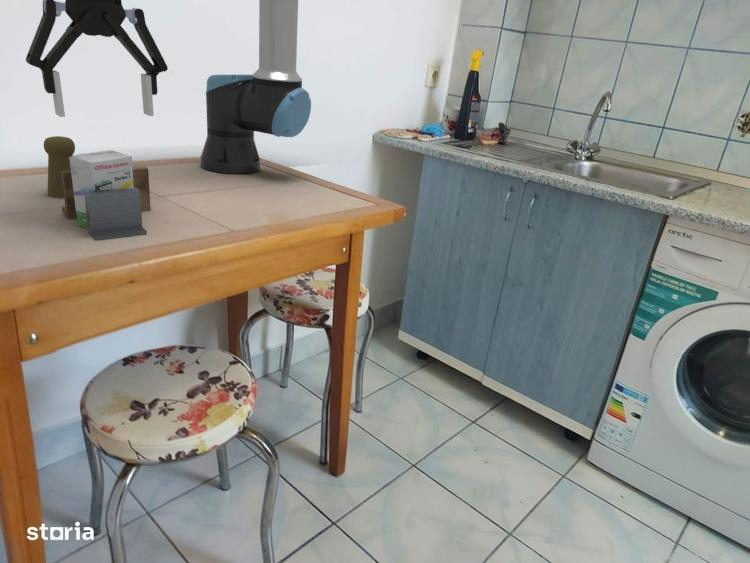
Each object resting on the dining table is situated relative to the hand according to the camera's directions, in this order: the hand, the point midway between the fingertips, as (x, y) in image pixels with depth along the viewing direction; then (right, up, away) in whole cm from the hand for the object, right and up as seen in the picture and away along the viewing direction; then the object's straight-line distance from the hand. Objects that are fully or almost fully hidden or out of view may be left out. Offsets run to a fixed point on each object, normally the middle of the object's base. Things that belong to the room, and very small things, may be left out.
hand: (106, 115), depth 89 cm
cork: (-17, -10, +17) cm, 26 cm away
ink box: (-2, -17, +5) cm, 18 cm away
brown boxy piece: (-5, -14, +11) cm, 19 cm away
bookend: (+1, -19, +2) cm, 19 cm away
